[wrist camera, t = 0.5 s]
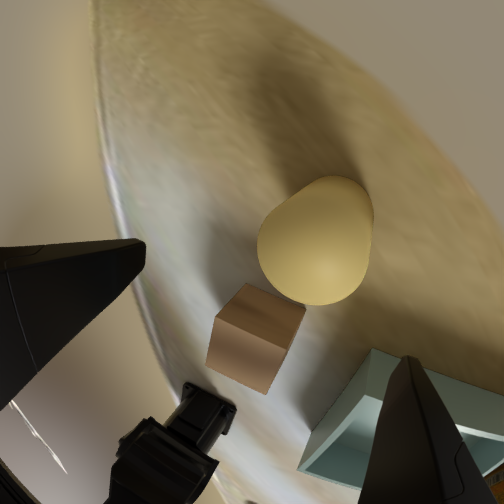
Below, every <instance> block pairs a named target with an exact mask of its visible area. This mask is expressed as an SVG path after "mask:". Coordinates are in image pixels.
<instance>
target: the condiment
mask: <svg viewBox="0 0 504 504" xmlns="http://www.w3.org/2000/svg"><path fill="white" fill-rule="evenodd" d="M484 479H485V481H486V482H487V484H488V486H489V488H490V489H491V491H492V493H493V495H494V496H495V498H496V500H497V502H498V504H504V462H503V463H502V464H501V465H499V466H498V467H497V468H495V469H494V470H493V471H491V472H490V473H488V474H487V475H486V476H484Z"/></svg>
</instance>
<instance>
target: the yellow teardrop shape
mask: <svg viewBox="0 0 504 504" xmlns="http://www.w3.org/2000/svg"><path fill="white" fill-rule="evenodd" d="M373 219H374V212H373V206H372V203H371V200H370V198H369V196H368V194H367V193H366V192H365V190H364V189H363V188H362V187H361V186H360V185H359V184H357V183H356V182H354V181H353V180H351V179H349V178H346V177H343V176H336V175H331V176H325V177H321V178H319V179H316V180H315V181H313V182H312V183H310V184H309V185H307V186H306V187H304V188H303V189H302V190H300V191H299V192H297V193H296V194H294V195H293V196H292V197H290V198H289V199H287V200H286V201H285V202H283V203H282V204H280V205H279V206H278V207H276V208H275V209H274V210H273V211H272V212H271V213H270V214H269V215H268V216H267V217H266V219H265V220H264V222H263V224H262V226H261V228H260V231H259V234H258V239H257V254H258V259H259V263H260V266H261V268H262V270H263V272H264V274H265V276H266V277H267V279H268V280H269V281H270V283H271V284H272V285H273V286H274V287H275V288H276V289H277V290H278V291H279V292H281V293H282V294H283V295H285V296H287V297H288V298H290V299H292V300H294V301H297V302H300V303H304V304H308V305H327V304H331V303H335V302H338V301H340V300H342V299H344V298H346V297H347V296H349V295H350V294H351V293H352V292H354V291H355V290H356V289H357V287H358V286H359V285H360V283H361V282H362V280H363V278H364V276H365V274H366V271H367V267H368V262H369V255H370V247H371V238H372V229H373Z"/></svg>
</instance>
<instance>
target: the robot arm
mask: <svg viewBox="0 0 504 504" xmlns="http://www.w3.org/2000/svg"><path fill="white" fill-rule="evenodd" d="M145 258H146V244H145V243H144V242H143V241H141V240H139V239H136V238H131V239H116V240H103V241H87V242H74V243H61V244H48V245H36V246H18V247H0V411H1V410H2V409H3V408H4V407H5V406H6V405H7V404H8V403H9V402H10V401H11V400H12V399H13V398H14V397H15V396H16V395H17V394H18V393H19V391H20V390H22V389H23V387H24V386H25V385H26V384H27V383H28V382H29V381H30V380H31V379H32V378H33V377H34V376H35V375H36V374H37V372H39V371H40V370H41V369H42V368H43V367H44V366H45V365H46V364H47V363H48V362H49V361H50V360H51V359H52V358H53V357H54V356H55V355H56V354H57V353H58V352H59V351H60V350H61V349H62V348H63V347H65V345H66V344H68V343H69V342H70V341H71V340H72V339H73V338H74V337H75V336H76V335H77V334H78V333H79V332H80V331H81V330H82V329H83V328H84V327H86V325H88V324H89V323H90V322H91V321H92V320H93V319H94V318H95V317H96V316H97V315H99V313H101V312H102V311H103V310H104V309H105V308H106V307H107V306H108V305H110V304H111V303H112V302H113V301H114V300H115V299H116V298H117V297H118V296H119V295H120V294H121V293H122V292H123V291H124V289H125V288H126V287H127V286H128V285H129V284H130V283H131V282H132V281H133V280H134V279H135V277H136V276H137V275H138V274H139V273H140V272H141V271H142V270H143V268H144V266H145ZM236 411H237V409H236V408H235V407H234V406H232V405H230V404H228V403H226V402H224V401H222V400H220V399H218V398H216V397H214V396H212V395H211V394H209V393H207V392H205V391H203V390H201V389H199V388H198V387H196V386H194V385H192V384H190V383H188V382H186V383H185V384H184V385H183V392H182V401H181V404H180V405H179V406H178V407H177V408H176V410H175V411H174V412H173V413H172V415H171V416H170V417H169V418H168V419H167V421H166V422H165V423H164V424H163V425H161V424H160V423H158V422H157V421H156V420H155V419H154V418H153V417H151V416H150V417H149V418H148V419H143V420H142V421H141V422H140V423H139V424H138V425H137V426H136V427H135V428H134V429H133V430H131V431H130V432H129V433H127V434H126V435H125V436H123V437H122V438H121V439H120V440H119V448H118V451H117V453H116V457H117V458H118V460H117V461H116V462H115V463H114V465H113V466H112V468H111V477H110V489H109V498H108V499H107V500H106V501H105V502H104V503H103V504H193V503H194V502H195V501H196V499H197V498H198V497H199V496H200V494H201V493H202V492H203V490H204V489H205V487H206V485H207V484H208V482H209V480H210V478H211V476H212V475H213V473H214V471H215V469H216V467H217V466H218V464H219V461H218V460H216V459H215V460H214V459H213V458H211V457H209V456H208V455H207V454H208V452H209V451H210V449H211V448H212V446H213V445H214V443H215V442H216V440H217V439H218V437H219V436H220V434H223V435H227V433H228V432H229V429H230V427H231V424H232V422H233V419H234V417H235V414H236ZM0 504H41V503H40V502H39V501H38V500H37V499H36V498H35V497H34V496H33V495H32V494H31V493H30V492H29V490H28V489H27V488H26V487H25V486H24V485H23V484H22V483H21V482H20V481H19V480H18V478H17V477H16V476H15V475H14V474H13V473H12V472H11V470H10V469H9V468H8V467H7V466H6V465H5V463H4V462H3V461H2V459H1V458H0ZM358 504H498V502H497V500H496V498H495V496H494V495H493V493H492V491H491V489H490V488H489V486H488V484H487V482H486V481H485V479H484V477H483V475H482V474H481V472H480V470H479V468H478V467H477V465H476V463H475V461H474V459H473V457H472V455H471V453H470V452H469V450H468V448H467V446H466V444H465V442H464V441H463V438H462V436H461V434H460V432H459V430H458V428H457V426H456V425H455V423H454V421H453V419H452V417H451V415H450V413H449V412H448V410H447V408H446V406H445V404H444V403H443V401H442V399H441V397H440V396H439V394H438V392H437V390H436V389H435V387H434V385H433V384H432V382H431V380H430V378H429V377H428V375H427V373H426V372H425V370H424V368H423V367H422V365H421V363H420V362H419V360H418V359H417V358H415V357H412V356H410V355H405V356H404V357H403V358H402V359H401V361H400V362H399V363H398V365H397V366H396V368H395V369H394V370H393V372H392V373H391V375H390V378H389V381H388V385H387V388H386V392H385V396H384V399H383V403H382V406H381V410H380V413H379V417H378V420H377V425H376V430H375V435H374V440H373V445H372V449H371V454H370V458H369V463H368V467H367V471H366V475H365V479H364V483H363V486H362V490H361V493H360V497H359V500H358Z"/></svg>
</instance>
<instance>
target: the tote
mask: <svg viewBox="0 0 504 504" xmlns="http://www.w3.org/2000/svg"><path fill="white" fill-rule="evenodd" d="M400 361H401V359H400V358H397V357H394V356H392V355H389V354H387V353H384V352H382V351H379V350H377V349H374V348H372V349H371V351H370V352H369V354H368V355H367V357H366V358H365V360H364V361H363V363H362V364H361V366H360V367H359V369H358V370H357V372H356V373H355V375H354V376H353V378H352V379H351V381H350V382H349V383H348V385H347V386H346V388H345V389H344V390H343V392H342V393H341V395H340V396H339V397H338V399H337V400H336V401H335V403H334V404H333V405H332V407H331V408H330V409H329V411H328V412H327V413H326V415H325V416H324V417H323V419H322V420H321V421H320V422H319V424H318V425H317V426H316V427H315V429H314V430H313V431H312V432H311V435H310V437H309V440H308V443H307V445H306V448H305V451H304V453H303V456H302V458H301V461H300V463H299V466H298V468H297V471H300V472H303V473H305V474H308V475H311V476H314V477H317V478H320V479H323V480H326V481H329V482H332V483H335V484H339V485H342V486H345V487H349V488H353V489H356V490H360V491H361V490H362V486H363V483H364V479H365V475H366V471H367V467H368V463H369V458H370V454H371V449H372V445H373V440H374V435H375V430H376V425H377V420H378V417H379V413H380V410H381V406H382V403H383V399H384V396H385V392H386V388H387V385H388V381H389V378H390V375H391V373H392V372H393V370H394V369H395V368H396V366H397V365H398V363H399V362H400ZM424 370H425V372H426V373H427V375H428V377H429V378H430V380H431V382H432V384H433V385H434V387H435V389H436V390H437V392H438V394H439V396H440V397H441V399H442V401H443V403H444V404H445V406H446V408H447V410H448V412H449V413H450V415H451V417H452V419H453V421H454V423H455V425H456V426H457V428H458V430H459V432H460V434H461V436H462V438H463V441H464V442H465V444H466V446H467V448H468V450H469V452H470V453H471V455H472V457H473V459H474V461H475V463H476V465H477V467H478V468H479V470H480V472H481V474H482V475H483V477H484V476H486V475H487V474H488V473H490V472H491V471H493V470H494V469H495V468H497V467H498V466H499V465H501V464H502V463H503V462H504V396H503V395H500V394H496V393H494V392H491V391H488V390H485V389H482V388H479V387H476V386H473V385H470V384H467V383H464V382H462V381H459V380H456V379H453V378H450V377H448V376H445V375H442V374H439V373H437V372H434V371H431V370H429V369H426V368H424Z"/></svg>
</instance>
